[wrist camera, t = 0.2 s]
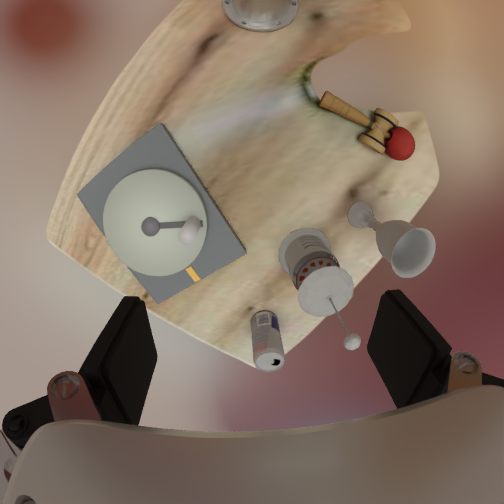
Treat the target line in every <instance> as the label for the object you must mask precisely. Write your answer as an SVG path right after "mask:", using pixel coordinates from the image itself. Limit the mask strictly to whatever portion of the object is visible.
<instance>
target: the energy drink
mask: <svg viewBox="0 0 504 504" xmlns="http://www.w3.org/2000/svg"><path fill="white" fill-rule="evenodd" d="M251 332H252V346H253V359H254V363H255V365H256V367H257V368H258V369H259V370H260V371H264V372H274V371H276V370H278V369H280V368H281V367H282V366H283V365H284V360H285V355H284V350H283V345H282V340H281V335H280V330H279V325H278V320H277V317H276V316H275V315H274V314H273V313H271V312H269V311H262V312H258V313H256V314H255V315H254V316H253V317H252V319H251Z"/></svg>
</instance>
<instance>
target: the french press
mask: <svg viewBox="0 0 504 504" xmlns="http://www.w3.org/2000/svg"><path fill="white" fill-rule="evenodd" d="M331 255H332V258H331ZM333 257H335V256H334V255H333V254H332V252H331V247H330V244H329V241H328V239H327V237H326V236H325V235H324V234H323V233H322V232H320V231H318V230H316V229H313V228H301V229H298V230H296V231H293V232H291V233H290V234H289V235H288V236H287V237H286V238H285V239H284V240H283V242H282V244H281V246H280V248H279V262H280V264H281V266H282V268H283V269H284V270H285V271H286V272H287V273H288V274H289V275H290V276H291V278H292V281H294V280H295V281H296V282H295V281H294V282H295V283H296V284H295V283H294V282H293V283H294V286H295V288H296V289H297V290H298V301H299V304H300V306H301V308H302V309H303V310H304V311H305V312H306V313H308V314H310V315H313V316H317V317H321V316H329V315H332V314H334V313H337V315H338V317H339V319H340V321H341V323H342V325H343V327H344V329H345V331H346V333H347V335H348V336H347V337H346V338H345V339H344V343H343V344H344V346H345V348H346V349H348V350H354V349H356V348H358V347H359V345H360V341H361V339H360V337H359V336H358V335H357V334H349V332H348V330H347V329H346V327H345V325H344V323H343V321H342V319H341V317H340V315H339V313H338V312H339V311H340V310H341V309H342V308H343V307H345V306H346V305H347V303H348V302H349V300H350V298H351V297H352V296H353V288H354V284H353V280H352V277H351V276H350V275H349V273H348V272H347V271H346V270H344V269H342V268H340V266H339V263H338V261H337V259H336V258H334V260H333ZM335 259H336V260H335ZM336 261H337V263H336ZM294 276H295V277H296V278H295V277H294ZM293 277H294V278H295V279H294V278H293ZM293 279H294V280H293Z"/></svg>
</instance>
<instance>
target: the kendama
mask: <svg viewBox="0 0 504 504" xmlns="http://www.w3.org/2000/svg"><path fill="white" fill-rule="evenodd" d="M319 106H320V107H323V108H325V109H329V110H330V111H333V112H335V113H337V114H339V115H341V116H344V117H345V118H347V119H349V120H351V121H354V122H356V123H358V124H361V125H363V126H365V127H367V128H370V129H371V130H370V131H369V132H367V133H364V134H361V136H360V138H359V141H360V142H362V143H363V144H365V145H366V146H368V147H369V148H371V149H373V150H374V151H376V152H378V153H380V154H383V153H384V151H385V152H386V153H387V155H388V156H390V157H391V158H393V159H395V160H406V159H408V158H409V157H411V155H412V154H413V152H414V150H415V141H414V138H413V136H412V134H411V133H410V132H409V131H408V130H406V129H405V128H403V127H398V126H397V125H398V120H397V119H396V118H395V117H394V116H393V115H391V114H390V113H388V112H386V111H385V110H382V109H380V108H377V109H376V110H375V112H374V114H375V122H373V121H372V120H370V119H369V118H368V117H366V116H365V115H364V114H363V113H361V112H360V111H358V110H357V109H356V108H354V107H352V106H351V105H349V104H348V103H346V102H344V101H343V100H341V99H339V98H338V97H336V96H334V95H333V94H331V93H330V92H328V91H326V92H325V93H324V95H323V97H322V99H321V101H320V103H319Z"/></svg>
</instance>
